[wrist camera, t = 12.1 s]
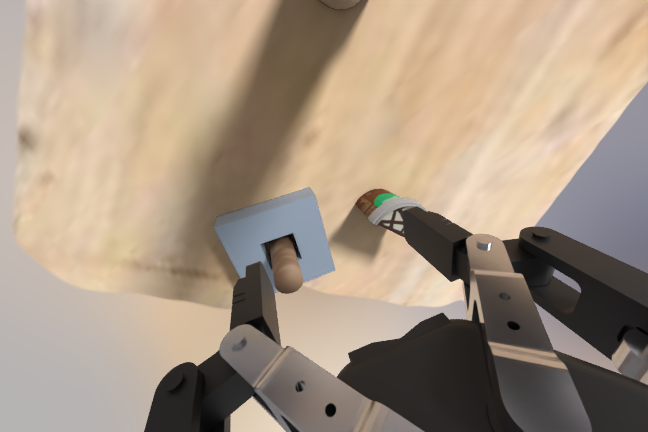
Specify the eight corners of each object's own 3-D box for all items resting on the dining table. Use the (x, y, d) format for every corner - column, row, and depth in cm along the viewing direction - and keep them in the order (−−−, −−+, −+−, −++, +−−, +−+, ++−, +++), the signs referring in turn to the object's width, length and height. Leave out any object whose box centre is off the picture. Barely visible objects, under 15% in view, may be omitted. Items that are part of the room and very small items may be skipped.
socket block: (309, 187, 41) (315, 194, 37) (329, 258, 49) (335, 270, 45) (216, 216, 39) (213, 228, 35) (252, 286, 46) (252, 301, 43)
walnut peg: (287, 226, 43) (298, 266, 33) (293, 244, 45) (306, 287, 34) (265, 234, 42) (270, 276, 32) (273, 251, 44) (279, 297, 34)
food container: (412, 198, 48) (448, 219, 39) (395, 223, 49) (426, 249, 41) (366, 171, 43) (396, 189, 34) (349, 200, 44) (373, 224, 35)
